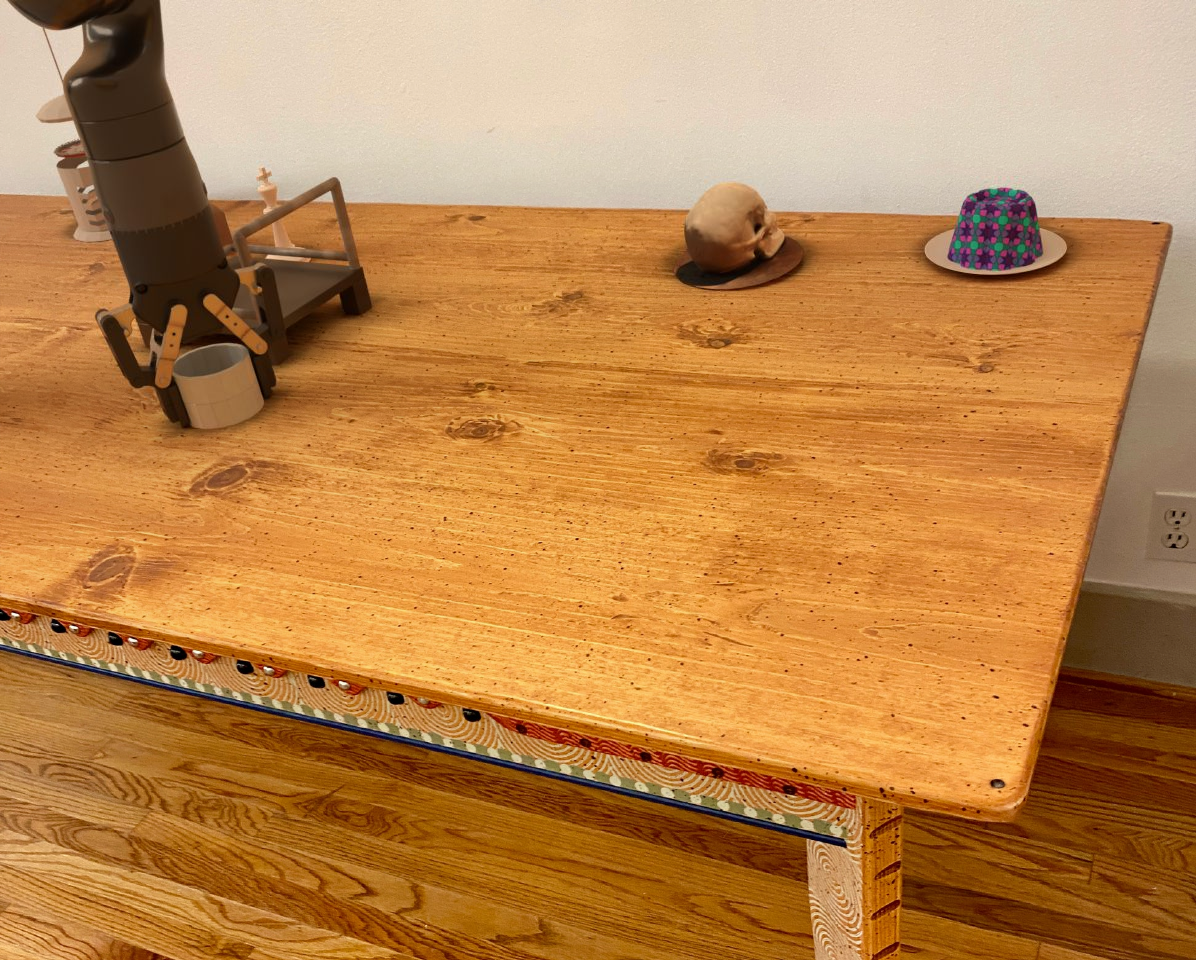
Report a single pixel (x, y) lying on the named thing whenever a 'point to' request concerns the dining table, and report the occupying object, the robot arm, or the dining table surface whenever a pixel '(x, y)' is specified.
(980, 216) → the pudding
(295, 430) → the dining table surface
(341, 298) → the rack
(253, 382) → the cup
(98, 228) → the french press
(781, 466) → the dining table surface
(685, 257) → the skull
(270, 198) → the chess piece
